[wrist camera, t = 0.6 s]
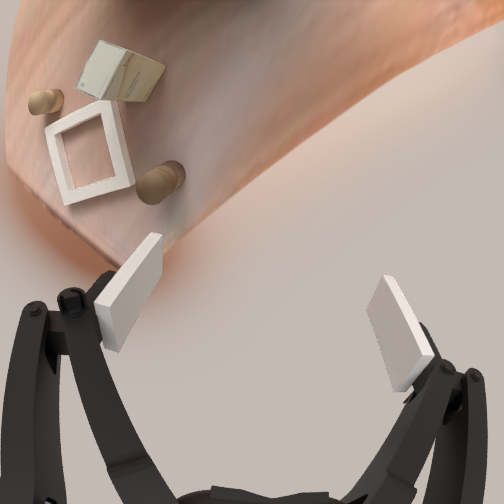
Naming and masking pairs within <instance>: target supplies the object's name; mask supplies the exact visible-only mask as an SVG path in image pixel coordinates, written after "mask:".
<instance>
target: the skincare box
mask: <svg viewBox="0 0 504 504" xmlns="http://www.w3.org/2000/svg"><path fill="white" fill-rule="evenodd" d="M165 68H166V66H165V65H163V64H161V63H159V62H157V61H155V60H152V59H150V58H148V57H146V56H143V55H141V54H138V53H135V52H133V51H130V50H128V49H125V48H122V47H120V46H117V45H114V44H111V43H108V42H106V41H103V40H99V41H98V43H97V45H96V46H95V48H94V50H93V52H92V53H91V55H90V57H89V59H88V61H87V63H86V65H85V67H84V69H83V71H82V73H81V76H80V78H79V80H78V82H77V85H76V87H75V89H77V90H79V91H81V92H83V93H85V94H87V95H89V96H91V97H93V98H95V99H98V100H108V101H130V102H146V101H147V99H148V97H149V95H150V94H151V92H152V90H153V89H154V87H155V85H156V83H157V82H158V80H159V78H160V77H161V75H162V73H163V72H164V70H165Z"/></svg>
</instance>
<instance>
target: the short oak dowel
mask: <svg viewBox="0 0 504 504" xmlns="http://www.w3.org/2000/svg"><path fill="white" fill-rule="evenodd" d="M63 102H64V95H63V93H62V91H61V90H38V91H35V92H34V93H33V94H32V95H31V97H30V99H29V104H28V107H29V111H30V113H31V114H32V115H41V114H47V113H54V112H58V111H59V110H60V109H61V107H62V105H63Z"/></svg>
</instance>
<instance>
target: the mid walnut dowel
mask: <svg viewBox="0 0 504 504" xmlns="http://www.w3.org/2000/svg"><path fill="white" fill-rule="evenodd" d="M184 180H185V169H184V167H183V166H182V165H181V164H180V163H179V162H177V161H167V162H165V163H163V164H161V165H159V166H157V167H156V168H154V169H152V170H150V171H148V172H146V173H144V174H143V175H141V176H140V177H139V178H138V180H137V183H136V192H137V195H138V197H139V198H140V200H141V201H143V202H144V203H146V204H149V205H155V204H158V203H160V202H161V201H162V200H163V199H165V198H166V197H167V196H168V195H169V194H170V193H172V192H173V191H174V190H175V189H176V188H177V187H179V186H180V185H181V184H182V183H183V182H184Z"/></svg>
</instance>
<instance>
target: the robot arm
mask: <svg viewBox="0 0 504 504" xmlns="http://www.w3.org/2000/svg"><path fill="white" fill-rule="evenodd" d="M162 255H163V234H158V233H153V232H150V234H149V235H148V236H147V237H146V238H145V239H144V241H143V242H142V243H141V244H140V245H139V246H138V248H137V249H136V250H135V251H134V252H133V254H132V255H131V256H130V257H129V258H128V260H127V261H126V262H125V263H124V264H123V266H122V267H121V268H120V269H119V271H118V272H115V271H111V270H109V271H107V272H105V273H104V274H102V275H101V276H100V277H99V278H98V279H97V280H96V282H95V283H94V284H93V285H92V287H91V288H90V289H89V290H88V291H87V292H86V293H85V292H84V291H83V290H82V289H80V288H76V287H72V288H67V289H65V290H63V291H62V292H60V294H59V295H58V297H57V302H58V305H59V309H60V311H49V310H48V309H47V306H46V304H45V303H43V302H42V301H34V302H31V303H28V304H27V305H26V306H25V307H24V309H23V311H22V314H21V317H20V321H19V325H18V328H17V332H16V336H15V340H14V345H13V349H12V354H11V358H10V363H9V369H8V374H7V381H6V388H5V395H4V403H3V413H2V427H1V477H0V504H67V499H66V498H67V497H66V489H65V481H64V474H63V466H62V456H61V444H60V425H59V384H60V381H59V380H60V364H61V355H69V357H70V361H71V365H72V369H73V373H74V376H75V380H76V384H77V387H78V391H79V394H80V397H81V400H82V403H83V407H84V410H85V413H86V415H87V418H88V421H89V424H90V426H91V429H92V432H93V435H94V437H95V440H96V442H97V445H98V447H99V449H100V452H101V454H102V457H103V459H104V461H105V463H106V466H107V472H108V474H109V477H110V479H111V481H112V483H113V485H114V487H115V489H116V491H117V493H118V495H119V496H120V498H121V500H122V502H123V503H124V504H411V503H412V501H413V499H414V498H415V495H416V493H417V489H416V488H414V484H415V482H416V480H417V478H418V476H419V474H420V472H421V470H422V468H423V466H424V464H425V461H426V459H427V457H428V455H429V452H430V450H431V448H432V445H433V443H434V440H435V438H436V440H435V447H434V453H433V459H432V464H431V470H430V475H429V480H428V484H427V488H426V493H425V496H424V500H423V504H483V497H484V490H485V481H486V468H487V445H488V444H487V443H488V442H487V441H488V429H487V406H486V393H485V383H484V378H483V376H482V374H481V372H479V370H477V369H474V368H470V369H468V370H467V372H466V373H465V374H463V373H460V372H456V369H455V367H454V366H453V364H452V363H451V362H449V361H447V360H445V359H442V358H441V356H440V354H439V352H438V350H437V348H436V346H435V344H434V342H433V340H432V338H431V337H430V334H429V332H428V330H427V329H426V327H425V326H424V325H423V324H422V323H421V322H418V321H417V319H416V317H415V315H414V313H413V311H412V309H411V308H410V306H409V304H408V302H407V300H406V299H405V297H404V295H403V293H402V292H401V290H400V288H399V286H398V284H397V283H396V281H395V279H394V278H393V277H392V276H387V275H382V277H381V280H380V282H379V284H378V286H377V288H376V291H375V293H374V295H373V297H372V299H371V301H370V303H369V306H368V308H367V313H368V316H369V318H370V321H371V324H372V326H373V329H374V332H375V335H376V338H377V341H378V343H379V347H380V350H381V352H382V356H383V359H384V362H385V365H386V368H387V371H388V374H389V377H390V380H391V384H392V387H393V391H394V392H406V391H407V390H408V389H409V388H410V386H411V385H413V388H414V391H413V392H412V393H411V394H410V395H409V397H408V398H407V399H406V400H405V401H404V402H403V403H406V404H405V406H404V408H403V410H402V412H401V414H400V416H399V417H398V419H397V421H396V423H395V425H394V426H393V428H392V430H391V432H390V434H389V435H388V437H387V438H386V440H385V442H384V443H383V445H382V447H381V448H380V450H379V452H378V453H377V455H376V456H375V458H374V459H373V461H372V462H371V464H370V465H369V466H368V468H367V469H366V471H365V472H364V474H363V475H362V476H361V478H360V479H359V481H358V482H357V483H356V485H355V486H354V487H353V489H352V490H351V491H350V492H349V493H348V494H347V495H346V496H345V497H344V498H342V499H341V500H340V501H339V500H337V499H333V498H330V497H329V492H311V493H298V494H294V495H289V496H284V497H279V498H268V497H264V496H260V495H257V494H254V493H251V492H248V491H245V490H241V489H233V488H224V487H218V486H212V487H211V490H202V491H196V492H192V493H189V494H186V495H183V496H181V497H179V498H177V499H176V498H175V496H174V495H173V493H172V492H171V490H170V489H169V487H168V486H167V484H166V482H165V481H164V479H163V478H162V476H161V474H160V473H159V471H158V469H157V468H156V466H155V464H154V463H153V461H152V459H151V458H150V456H149V455H148V453H147V452H146V450H145V448H144V446H143V444H142V442H141V441H140V439H139V437H138V435H137V433H136V431H135V429H134V427H133V425H132V423H131V421H130V419H129V416H128V414H127V412H126V410H125V408H124V405H123V403H122V401H121V399H120V396H119V394H118V392H117V389H116V387H115V384H114V382H113V379H112V377H111V374H110V372H109V369H108V366H107V364H106V361H105V358H104V355H103V352H102V350H101V347H100V343H101V341H103V345H104V348H105V349H108V350H112V351H115V352H118V353H119V352H120V350H121V348H122V346H123V344H124V342H125V340H126V338H127V336H128V335H129V333H130V331H131V329H132V327H133V325H134V323H135V322H136V320H137V318H138V316H139V314H140V313H141V311H142V309H143V307H144V305H145V304H146V302H147V300H148V298H149V297H150V295H151V293H152V291H153V290H154V288H155V286H156V284H157V283H158V281H159V279H160V278H161V276H162Z"/></svg>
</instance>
